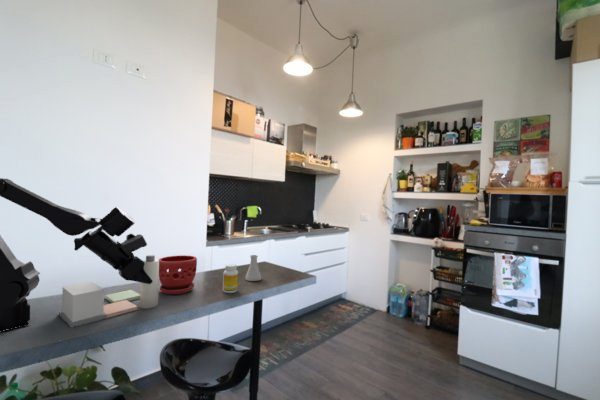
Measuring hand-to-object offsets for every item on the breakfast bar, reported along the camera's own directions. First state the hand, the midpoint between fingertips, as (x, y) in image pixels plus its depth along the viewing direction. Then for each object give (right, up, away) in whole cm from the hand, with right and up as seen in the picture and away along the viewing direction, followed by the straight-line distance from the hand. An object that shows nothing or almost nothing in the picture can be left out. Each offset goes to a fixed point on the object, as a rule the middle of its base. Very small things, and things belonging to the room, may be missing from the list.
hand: (147, 279), depth 90 cm
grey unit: (-14, -8, -9) cm, 18 cm away
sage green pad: (-11, -8, +6) cm, 15 cm away
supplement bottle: (+22, -9, +17) cm, 29 cm away
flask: (+28, -9, +32) cm, 44 cm away
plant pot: (+3, -8, +15) cm, 18 cm away
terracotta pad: (-7, -8, -4) cm, 12 cm away
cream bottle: (0, -8, +1) cm, 8 cm away
